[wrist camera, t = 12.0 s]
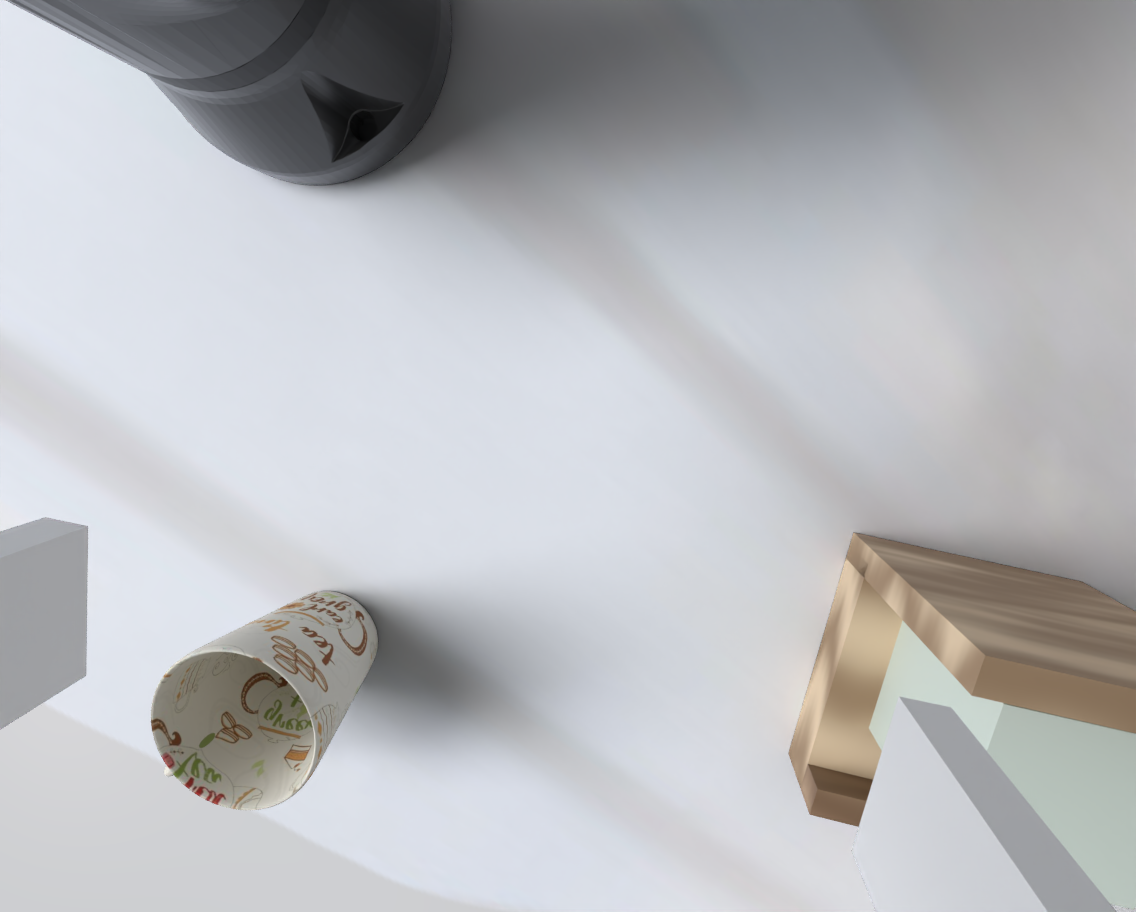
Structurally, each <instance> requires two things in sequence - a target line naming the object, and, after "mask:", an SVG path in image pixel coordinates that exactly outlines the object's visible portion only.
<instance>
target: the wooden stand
mask: <svg viewBox="0 0 1136 912" xmlns="http://www.w3.org/2000/svg"><path fill="white" fill-rule="evenodd" d="M902 621H904V622H905V623H906V624H907V626H908V627H909V628H910V629H911V630H912V631H913V632H914V633H915V634H916V635H917V637H918V638H919V639H920V640H921V641H922V642H923V643H924V644H925V645H926V646H927V647H928V649H929V650H930V651H931V652H932V653H933V654H934V655H935V656H936V657H937V658H938V660H939V661H940V662H941V663H942V664H943V665H944V666H945V667H946V668H947V669H948V670H949V672H950V673H951V674H952V675H953V676H954V677H955V678H956V679H957V680H958V681H959V682H960V684H961V685H962V686H963V687H964V688H965V689H966V690H967V691H968V692H969V693H970V695H971V696H976V697H980V698H984V699H989V700H993V701H997V702H1002V703H1006V704H1010V705H1015V706H1019V707H1023V708H1028V709H1032V710H1036V711H1040V712H1045V713H1049V714H1053V715H1058V716H1062V717H1066V718H1071V719H1075V720H1079V721H1084V722H1088V723H1092V724H1097V725H1101V726H1105V727H1110V728H1114V729H1118V730H1123V731H1127V732H1131V733H1136V612H1135V611H1134V610H1132V609H1130V608H1128V607H1126V606H1125V605H1123V604H1121V603H1119V602H1117V601H1116V600H1114V599H1112V598H1110V597H1108V596H1107V595H1105V594H1103V593H1101V592H1100V591H1098V590H1096V589H1094V588H1092V587H1091V586H1089V585H1087V584H1085V583H1083V582H1081V581H1076V580H1071V579H1067V578H1062V577H1058V576H1053V575H1048V574H1044V573H1039V572H1034V571H1030V570H1025V569H1020V568H1016V567H1011V566H1007V565H1002V564H997V563H993V562H988V561H983V560H979V559H974V558H969V557H965V556H960V555H955V554H951V553H946V552H942V551H937V550H932V549H928V548H923V547H918V546H914V545H909V544H904V543H900V542H895V541H891V540H886V539H881V538H877V537H872V536H867V535H863V534H858V533H853V536H852V540H851V543H850V546H849V550H848V553H847V557H846V560H845V563H844V567H843V570H842V573H841V577H840V580H839V584H838V587H837V590H836V594H835V597H834V601H833V604H832V607H831V611H830V614H829V618H828V621H827V624H826V628H825V631H824V635H823V638H822V641H821V645H820V648H819V651H818V655H817V658H816V662H815V665H814V668H813V672H812V675H811V679H810V682H809V685H808V689H807V692H806V696H805V699H804V702H803V706H802V709H801V713H800V716H799V719H798V723H797V726H796V729H795V733H794V736H793V740H792V743H791V746H790V750H789V756H790V759H791V762H792V765H793V768H794V771H795V774H796V776H797V779H798V782H799V785H800V788H801V791H802V794H803V797H804V799H805V802H806V805H807V808H808V811H809V814H810V815H814V816H818V817H822V818H826V819H830V820H834V821H838V822H842V823H846V824H850V825H854V826H858V827H859V824H860V821H861V818H862V814H863V811H864V808H865V805H866V801H867V798H868V795H869V792H870V788H871V785H872V782H873V779H874V775H875V772H876V769H877V766H878V762H879V759H880V756H881V753H882V750H881V749H880V747H879V745H878V743H877V742H876V740H875V738H874V737H873V735H872V733H871V731H870V730H869V726H870V723H871V719H872V716H873V713H874V710H875V707H876V703H877V700H878V697H879V694H880V691H881V688H882V684H883V681H884V678H885V675H886V672H887V668H888V665H889V662H890V659H891V656H892V653H893V649H894V646H895V643H896V640H897V637H898V633H899V630H900V627H901V624H902Z"/></svg>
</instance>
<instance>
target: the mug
mask: <svg viewBox="0 0 1136 912" xmlns="http://www.w3.org/2000/svg"><path fill="white" fill-rule="evenodd" d="M377 648H378V636H377V630H376V627H375V625H374V622H373V620H372V618H371V617H370V615H369V614H368V612H367V611H366V610H365V609H364V608H363V607H362V606H361V605H360V604H359V603H358V602H357V601H355V600H354V599H352V598H350V597H348V596H346V595H344V594H341V593H338V592H332V591H320V592H315V593H311V594H308V595H306V596H304V597H302V598H299V599H297V600H295V601H293V602H291V603H289V604H287V605H285V606H283V607H281V608H279V609H277V610H275V611H273V612H271V613H269V614H267V615H265V616H263V617H261V618H259V619H257V620H255V621H253V622H251V623H249V624H247V625H245V626H243V627H241V628H238V629H236V630H234V631H232V632H230V633H228V634H226V635H224V636H222V637H220V638H218V639H216V640H214V641H212V642H210V643H208V644H206V645H204V646H202V647H200V648H198V649H196V650H194V651H193V652H191V653H189V654H187V655H186V656H184V657H183V658H181V659H180V660H179V661H177V662H176V663H175V664H174V665H173V666H172V667H171V668H170V669H169V670H168V671H167V672H166V673H165V675H164V676H163V678H162V679H161V680H160V682H159V684H158V686H157V688H156V691H155V694H154V697H153V701H152V707H151V726H152V732H153V736H154V740H155V743H156V745H157V748H158V751H159V753H160V755H161V757H162V758H163V760H164V762H165V764H166V765H167V766H166V768H165V770H164V774H165V775H166V776H168V777H169V776H173V775H175V777H177V779H179V781H180V782H181V783H182V784H183V785H185V786H186V787H187V788H188V789H190V790H191V791H192V792H194V793H195V794H197V795H198V796H200V797H202V798H204V799H205V800H207V801H210V802H212V803H214V804H217V805H220V806H223V807H227V808H231V809H238V810H259V809H264V808H269V807H272V806H275V805H277V804H280V803H282V802H284V801H285V800H287V799H289V798H290V797H292V796H293V795H294V794H295V793H297V792H298V791H299V790H300V789H301V788H302V787H303V786H304V784H305V783H306V782H307V781H308V780H309V778H310V777H311V775H312V774H313V772H314V770H315V769H316V767H317V766H318V764H319V762H320V760H321V758H322V756H323V755H324V753H325V751H326V749H327V747H328V745H329V744H330V742H331V740H332V738H333V736H334V734H335V732H336V731H337V729H338V727H339V725H340V723H341V721H342V719H343V718H344V716H345V714H346V712H347V710H348V708H349V706H350V705H351V703H352V701H353V699H354V697H355V695H356V694H357V692H358V690H359V688H360V686H361V684H362V682H363V681H364V679H365V677H366V675H367V673H368V671H369V669H370V668H371V666H372V664H373V661H374V659H375V656H376V653H377Z"/></svg>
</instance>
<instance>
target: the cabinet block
mask: <svg viewBox="0 0 1136 912" xmlns="http://www.w3.org/2000/svg"><path fill="white" fill-rule="evenodd" d="M899 696H900V697H904V698H909V699H914V700H919V701H923V702H928V703H933V704H938V705H942V706H947V707H951V708H952V709H953V710H954V711H955V713H956V714H957V715H958V716H959V718H960V719H961V720H962V721H963V722H964V724H965V725H966V726H967V727H968V729H969V730H970V731H971V732H972V734H973V735H974V736H975V737H976V739H977V740H978V741H979V742H980V743H981V745H982V746H983V747H984V748H985V750H986V751H987V752H988V753H989V755H990V756H991V757H992V758H993V760H994V761H995V762H996V763H997V764H998V766H999V767H1000V768H1001V769H1002V771H1003V772H1004V773H1005V774H1006V776H1007V777H1008V778H1009V779H1010V781H1011V782H1012V783H1013V784H1014V786H1015V787H1016V788H1017V789H1018V790H1019V792H1020V793H1021V794H1022V795H1023V797H1024V798H1025V799H1026V800H1027V802H1028V803H1029V804H1030V805H1031V807H1032V808H1033V809H1034V810H1035V811H1036V813H1037V814H1038V815H1039V816H1040V818H1041V819H1042V820H1043V821H1044V823H1045V824H1046V825H1047V826H1048V828H1049V829H1050V830H1051V831H1052V833H1053V834H1054V835H1055V836H1056V837H1057V839H1058V840H1059V841H1060V842H1061V844H1062V845H1063V846H1064V847H1065V849H1066V850H1067V851H1068V852H1069V854H1070V855H1071V856H1072V857H1073V858H1074V860H1075V861H1076V862H1077V863H1078V865H1079V866H1080V867H1081V868H1082V870H1083V871H1084V872H1085V873H1086V875H1087V876H1088V877H1089V878H1090V879H1091V881H1092V882H1093V883H1094V884H1095V886H1096V887H1097V888H1098V889H1099V891H1100V892H1101V893H1102V894H1103V896H1104V897H1105V898H1106V899H1107V901H1108V902H1109V903H1110V904H1112V905H1116V906H1120V907H1124V908H1128V909H1133V910H1134V909H1135V907H1136V733H1131V732H1127V731H1123V730H1118V729H1114V728H1110V727H1105V726H1101V725H1097V724H1092V723H1088V722H1084V721H1079V720H1075V719H1071V718H1066V717H1062V716H1058V715H1053V714H1049V713H1045V712H1040V711H1036V710H1032V709H1028V708H1023V707H1019V706H1015V705H1010V704H1006V703H1002V702H997V701H993V700H989V699H984V698H980V697H976V696H971V695H970V693H969V692H968V691H967V690H966V689H965V688H964V687H963V686H962V685H961V684H960V682H959V681H958V680H957V679H956V678H955V677H954V676H953V675H952V674H951V673H950V672H949V670H948V669H947V668H946V667H945V666H944V665H943V664H942V663H941V662H940V661H939V660H938V658H937V657H936V656H935V655H934V654H933V653H932V652H931V651H930V650H929V649H928V647H927V646H926V645H925V644H924V643H923V642H922V641H921V640H920V639H919V638H918V637H917V635H916V634H915V633H914V632H913V631H912V630H911V629H910V628H909V627H908V626H907V624H906V623H905V622H904V621H902V624H901V627H900V630H899V633H898V637H897V640H896V643H895V646H894V649H893V653H892V656H891V659H890V662H889V665H888V668H887V672H886V675H885V678H884V681H883V684H882V688H881V691H880V694H879V697H878V700H877V703H876V707H875V710H874V713H873V716H872V719H871V723H870V726H869V730H870V731H871V733H872V735H873V737H874V738H875V740H876V742H877V743H878V745H879V747H880V749H881V750H882V749H883V746H884V743H885V740H886V736H887V733H888V730H889V727H890V723H891V720H892V717H893V714H894V710H895V707H896V704H897V701H898V697H899Z"/></svg>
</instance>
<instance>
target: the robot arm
mask: <svg viewBox="0 0 1136 912" xmlns="http://www.w3.org/2000/svg"><path fill="white" fill-rule="evenodd" d="M6 1H8V2H10V3H12V4H14V5H16V6H18V7H20V8H21V9H23V10H25V11H27V12H29V13H31V14H33V15H35V16H37V17H39V18H41V19H43V20H45V21H46V22H48V23H50V24H52V25H54V26H56V27H58V28H60V29H62V30H64V31H66V32H68V33H69V34H71V35H73V36H75V37H77V38H79V39H81V40H83V41H85V42H87V43H89V44H91V45H92V46H94V47H96V48H98V49H100V50H102V51H104V52H106V53H108V54H110V55H112V56H114V57H116V58H117V59H119V60H121V61H123V62H125V63H127V64H129V65H131V66H133V67H135V68H137V69H139V70H141V71H143V72H144V73H146V74H147V75H148V76H149V77H150V78H151V79H152V80H153V82H154V83H155V84H156V85H157V86H158V87H159V89H160V90H161V91H162V92H163V93H164V94H165V95H166V96H167V97H168V99H169V100H170V101H171V102H172V103H173V104H174V105H175V106H176V107H177V108H178V110H179V111H180V112H181V113H182V114H183V116H184V117H185V118H186V120H187V121H188V122H189V123H190V124H191V125H192V126H193V127H194V128H195V130H196V131H197V132H199V133H200V134H201V135H202V136H203V137H204V138H205V139H206V140H207V141H208V142H210V143H211V144H212V145H213V146H215V147H216V148H217V149H219V150H220V151H222V152H223V153H225V154H226V155H228V156H229V157H231V158H233V159H234V160H236V161H238V162H240V163H242V164H244V165H246V166H248V167H251V168H253V169H255V170H258V171H260V172H262V173H264V174H267V175H269V176H272V177H274V178H277V179H280V180H284V181H288V182H292V183H298V184H306V185H326V184H335V183H340V182H345V181H348V180H352V179H355V178H358V177H360V176H363V175H365V174H367V173H370V172H372V171H373V170H375V169H377V168H379V167H381V166H382V165H384V164H385V163H386V162H388V161H389V160H391V159H392V158H393V157H394V156H396V155H397V154H398V153H399V152H400V151H401V150H402V149H403V148H405V147H406V146H407V144H408V143H409V142H410V141H411V140H412V139H413V138H414V137H415V135H416V134H417V133H418V131H419V130H420V129H421V127H422V126H423V124H424V123H425V121H426V120H427V118H428V116H429V115H430V113H431V111H432V109H433V107H434V105H435V103H436V101H437V98H438V96H439V93H440V91H441V88H442V85H443V82H444V79H445V75H446V71H447V67H448V62H449V56H450V48H451V33H452V24H451V8H450V1H449V0H6ZM87 564H88V526H84V525H79V524H74V523H70V522H65V521H60V520H55V519H51V518H46V517H45V518H42V519H39V520H35V521H32V522H29V523H26V524H23V525H20V526H17V527H14V528H10V529H7V530H4V531H1V532H0V729H2V728H4V727H5V726H7V725H8V724H10V723H12V722H13V721H15V720H16V719H18V718H19V717H21V716H23V715H24V714H26V713H27V712H29V711H31V710H32V709H34V708H35V707H37V706H38V705H40V704H42V703H43V702H45V701H47V700H48V699H50V698H51V697H53V696H55V695H56V694H58V693H59V692H61V691H63V690H64V689H66V688H67V687H69V686H70V685H72V684H74V683H75V682H77V681H78V680H80V679H82V678H83V677H85V676H86V646H87ZM851 851H852V853H853V856H854V858H855V861H856V863H857V866H858V868H859V871H860V873H861V876H862V879H863V881H864V884H865V886H866V889H867V891H868V894H869V896H870V899H871V901H872V904H873V906H874V909H875V911H876V912H1116V910H1115V909H1114V908H1113V907H1112V905H1111V904H1110V903H1109V902H1108V901H1107V899H1106V898H1105V897H1104V896H1103V894H1102V893H1101V892H1100V891H1099V889H1098V888H1097V887H1096V886H1095V884H1094V883H1093V882H1092V881H1091V879H1090V878H1089V877H1088V876H1087V875H1086V873H1085V872H1084V871H1083V870H1082V868H1081V867H1080V866H1079V865H1078V863H1077V862H1076V861H1075V860H1074V858H1073V857H1072V856H1071V855H1070V854H1069V852H1068V851H1067V850H1066V849H1065V847H1064V846H1063V845H1062V844H1061V842H1060V841H1059V840H1058V839H1057V837H1056V836H1055V835H1054V834H1053V833H1052V831H1051V830H1050V829H1049V828H1048V826H1047V825H1046V824H1045V823H1044V821H1043V820H1042V819H1041V818H1040V816H1039V815H1038V814H1037V813H1036V811H1035V810H1034V809H1033V808H1032V807H1031V805H1030V804H1029V803H1028V802H1027V800H1026V799H1025V798H1024V797H1023V795H1022V794H1021V793H1020V792H1019V790H1018V789H1017V788H1016V787H1015V786H1014V784H1013V783H1012V782H1011V781H1010V779H1009V778H1008V777H1007V776H1006V774H1005V773H1004V772H1003V771H1002V769H1001V768H1000V767H999V766H998V764H997V763H996V762H995V761H994V760H993V758H992V757H991V756H990V755H989V753H988V752H987V751H986V750H985V748H984V747H983V746H982V745H981V743H980V742H979V741H978V740H977V739H976V737H975V736H974V735H973V734H972V732H971V731H970V730H969V729H968V727H967V726H966V725H965V724H964V722H963V721H962V720H961V719H960V718H959V716H958V715H957V714H956V713H955V711H954V710H953V709H952V708H951V707H947V706H942V705H938V704H933V703H928V702H923V701H919V700H914V699H909V698H904V697H900V696H899V697H898V701H897V704H896V707H895V710H894V714H893V717H892V720H891V723H890V727H889V730H888V733H887V736H886V740H885V743H884V746H883V749H882V753H881V756H880V759H879V762H878V766H877V769H876V772H875V775H874V779H873V782H872V785H871V788H870V792H869V795H868V798H867V801H866V805H865V808H864V811H863V814H862V818H861V821H860V824H859V827H858V831H857V834H856V837H855V840H854V844H853V847H852V850H851Z"/></svg>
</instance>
